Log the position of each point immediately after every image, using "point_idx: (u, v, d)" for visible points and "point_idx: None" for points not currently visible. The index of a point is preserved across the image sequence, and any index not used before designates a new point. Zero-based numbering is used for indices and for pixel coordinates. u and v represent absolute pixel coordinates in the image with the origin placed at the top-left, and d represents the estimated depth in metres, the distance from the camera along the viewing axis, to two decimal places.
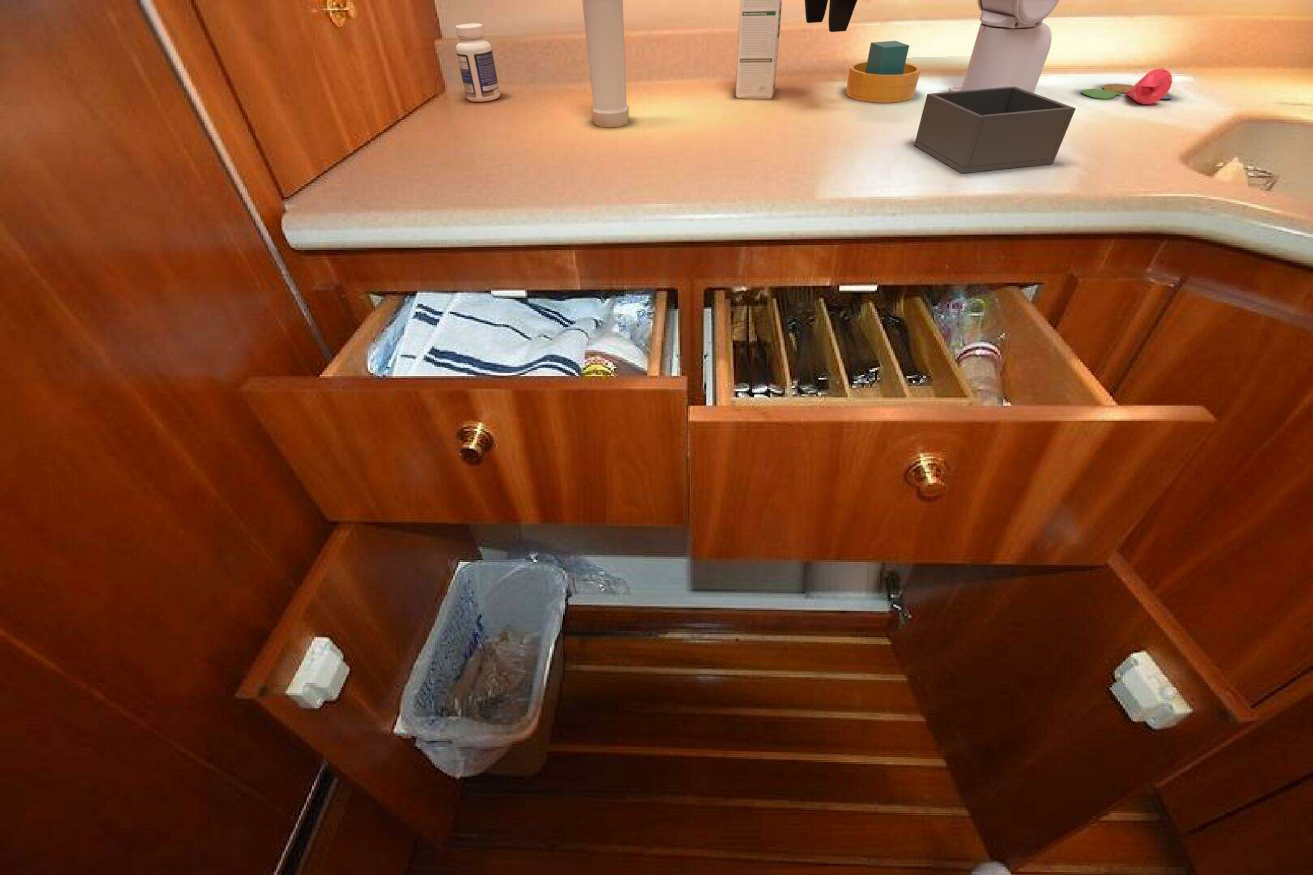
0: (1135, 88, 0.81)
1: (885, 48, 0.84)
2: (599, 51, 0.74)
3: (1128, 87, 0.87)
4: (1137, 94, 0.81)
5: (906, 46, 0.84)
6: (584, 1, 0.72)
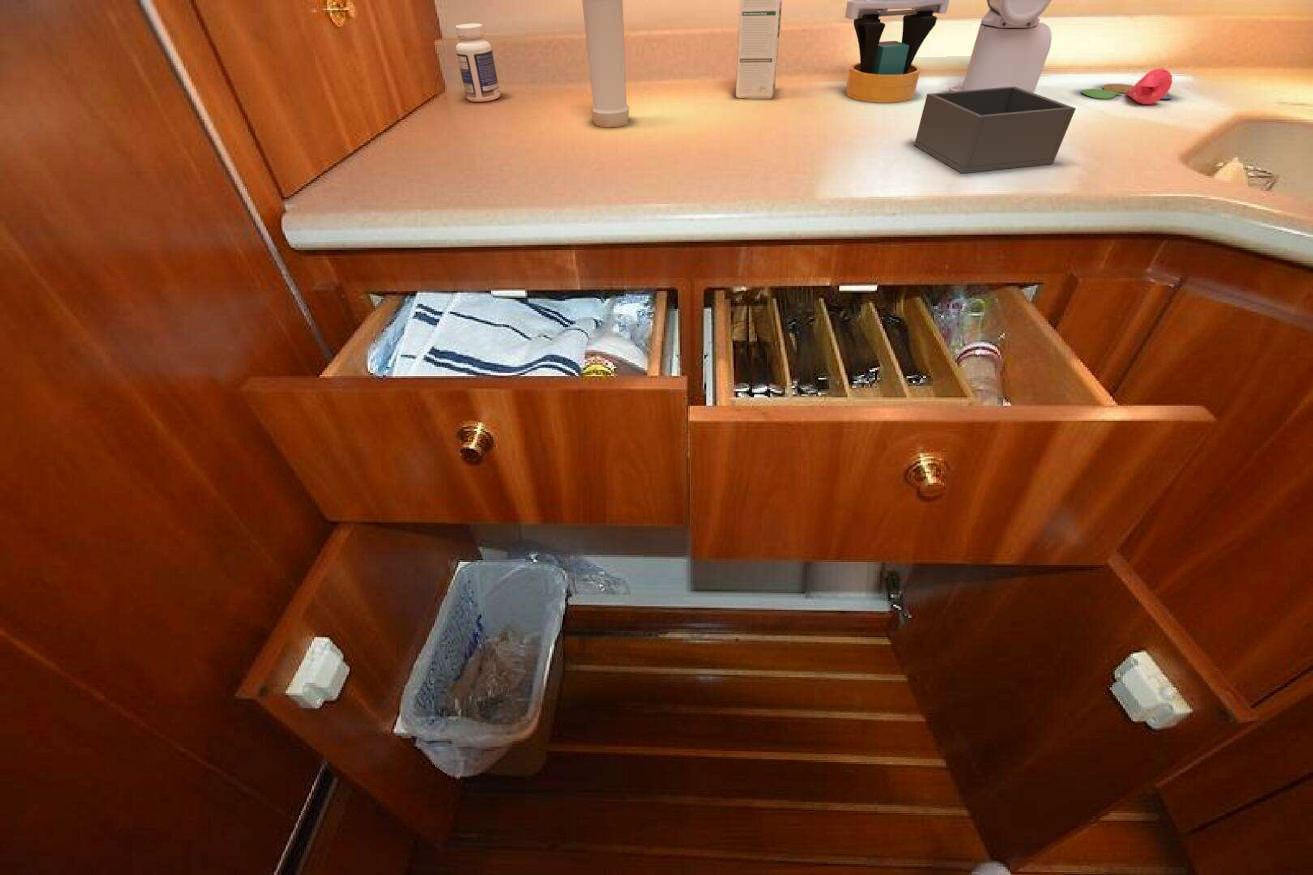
0: (1135, 88, 0.81)
1: (885, 48, 0.84)
2: (599, 51, 0.74)
3: (1128, 87, 0.87)
4: (1137, 94, 0.81)
5: (906, 46, 0.84)
6: (584, 1, 0.72)
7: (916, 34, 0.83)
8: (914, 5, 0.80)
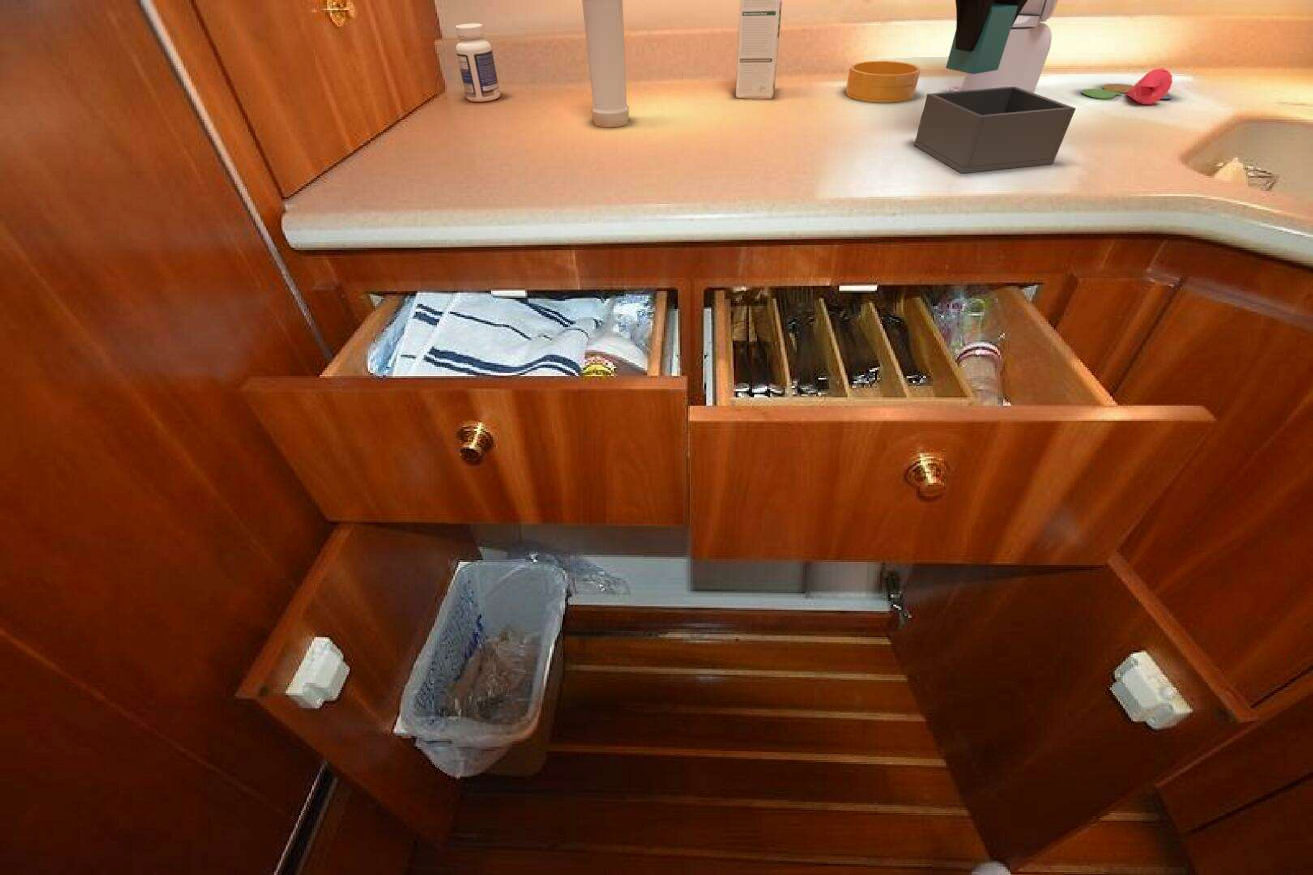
0: (1135, 88, 0.81)
1: (994, 10, 0.62)
2: (599, 51, 0.74)
3: (1128, 87, 0.87)
4: (1137, 94, 0.81)
5: (1015, 7, 0.63)
6: (584, 1, 0.72)
7: None
8: None
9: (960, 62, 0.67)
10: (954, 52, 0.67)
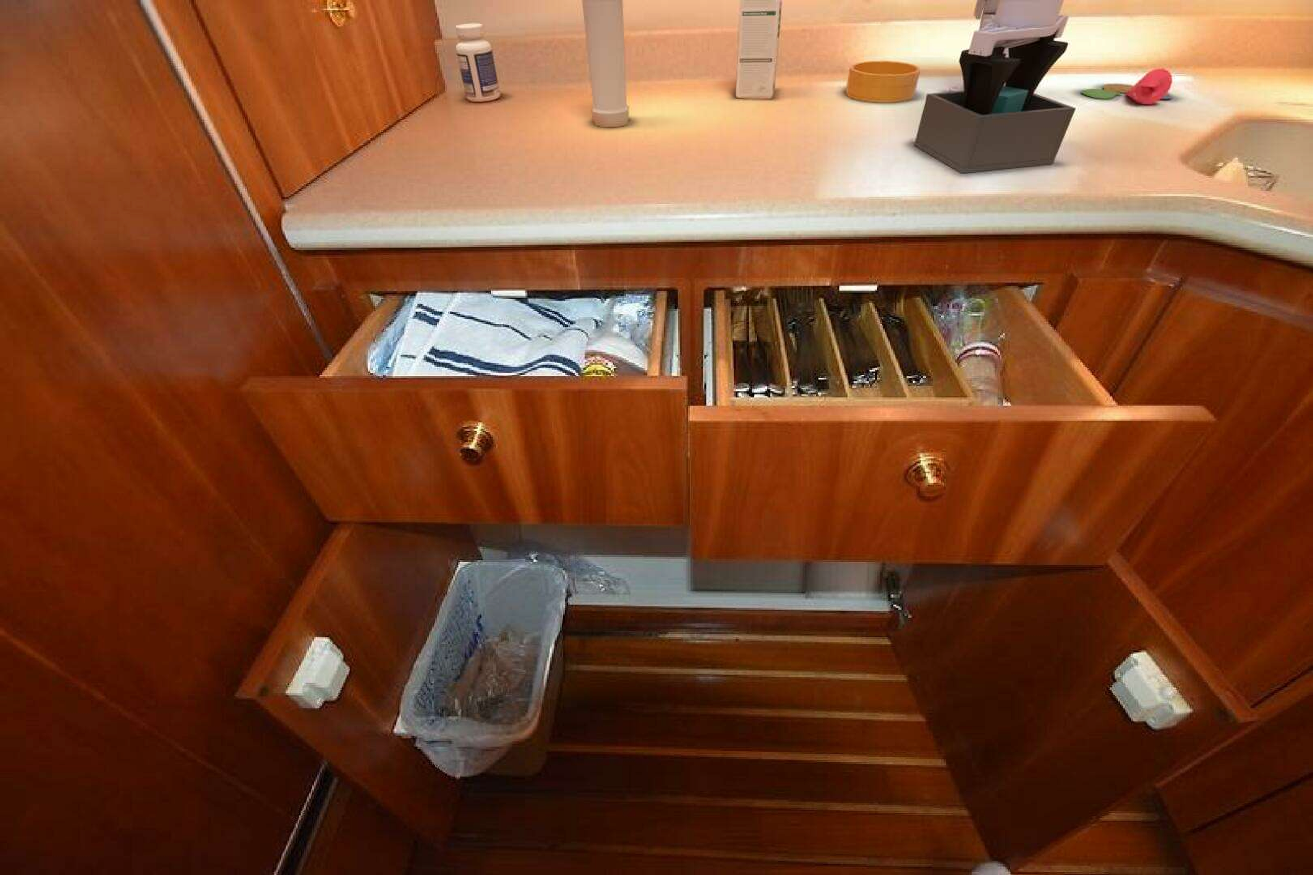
0: (1135, 88, 0.81)
1: (1009, 97, 0.62)
2: (599, 51, 0.74)
3: (1128, 87, 0.87)
4: (1137, 94, 0.81)
5: (1026, 92, 0.63)
6: (584, 1, 0.72)
7: (1043, 66, 0.63)
8: (1054, 31, 0.59)
9: None
10: None
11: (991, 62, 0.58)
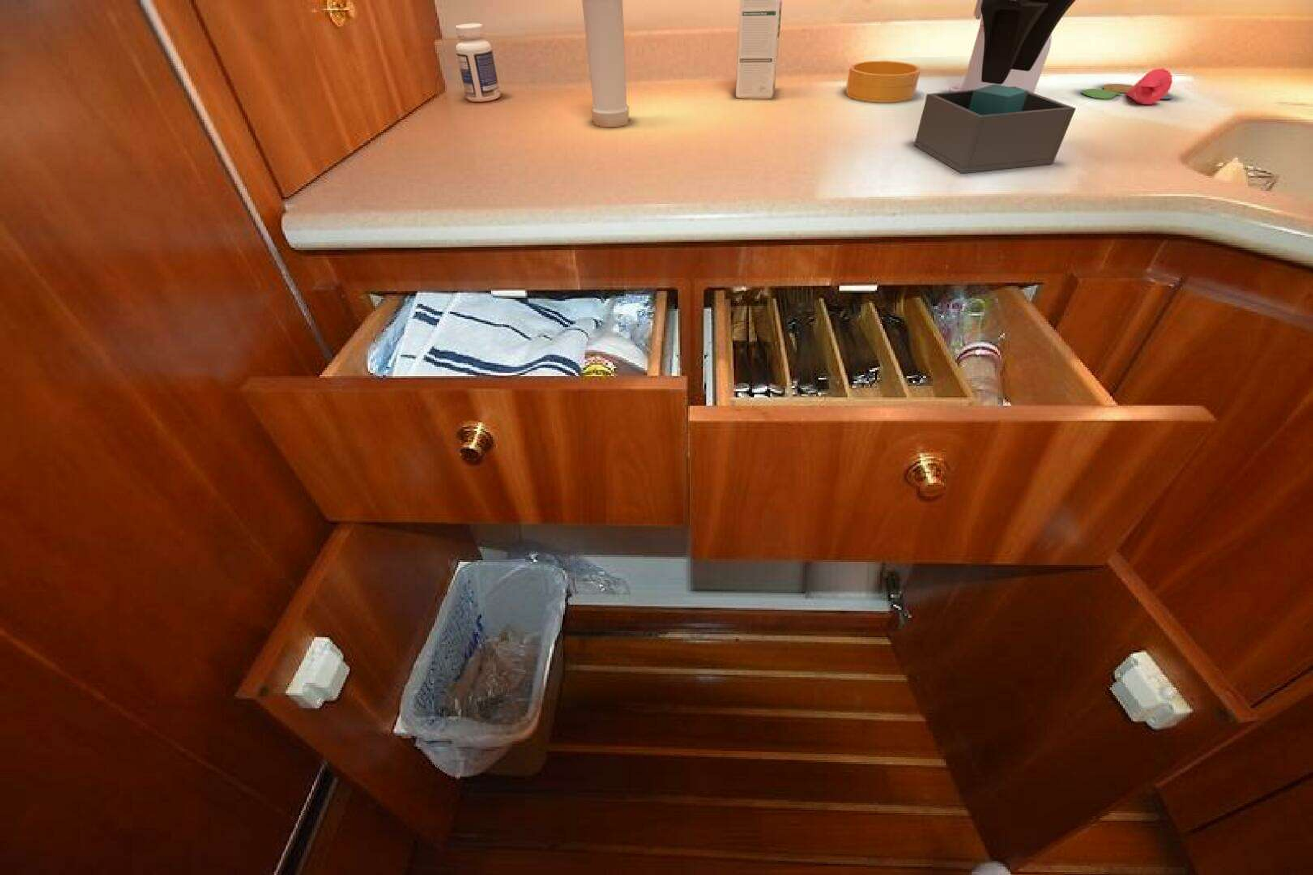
0: (1135, 88, 0.81)
1: (1009, 97, 0.62)
2: (599, 51, 0.74)
3: (1128, 87, 0.87)
4: (1137, 94, 0.81)
5: (1026, 92, 0.63)
6: (584, 1, 0.72)
7: (1057, 14, 0.60)
8: None
9: None
10: None
11: (1019, 7, 0.55)
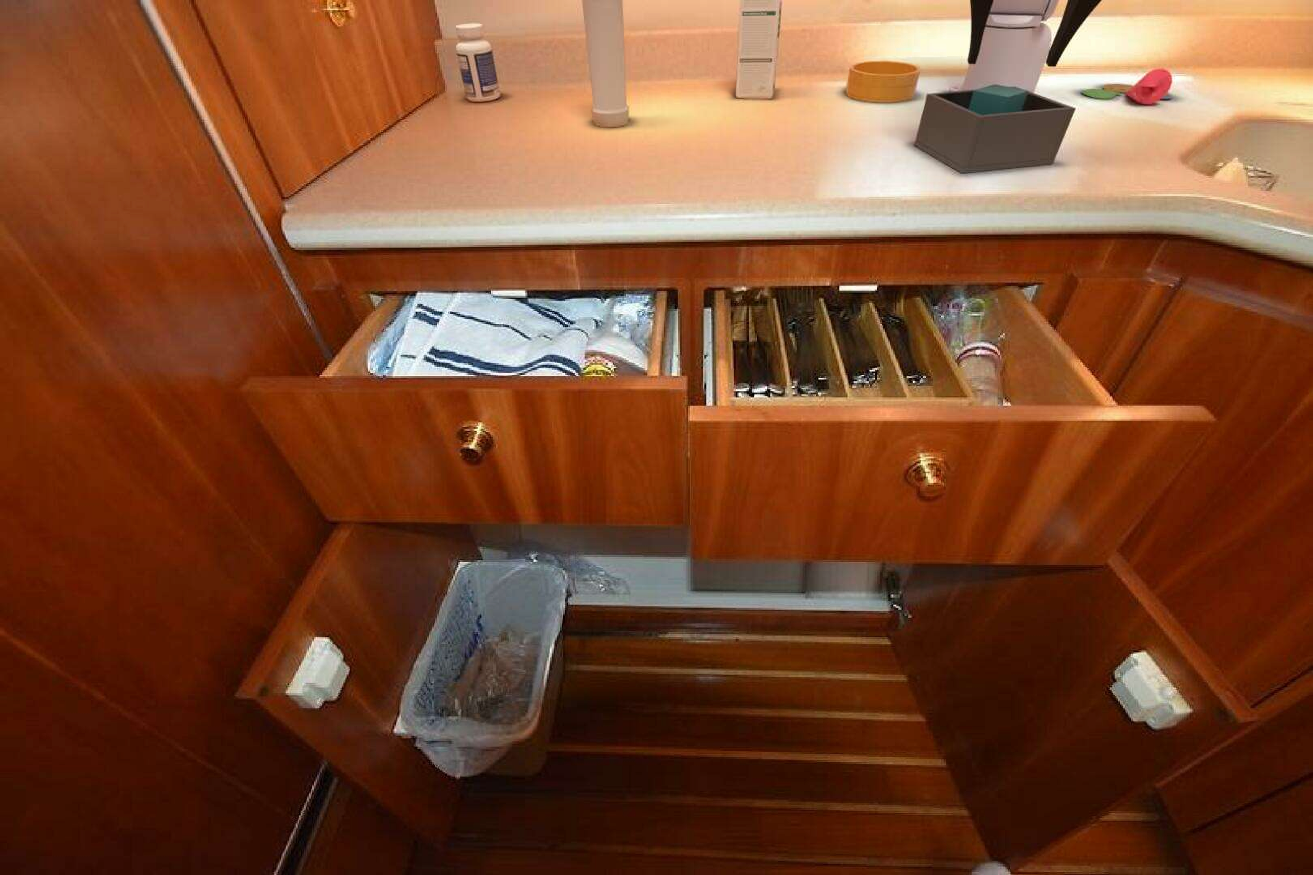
0: (1135, 88, 0.81)
1: (1009, 97, 0.62)
2: (599, 51, 0.74)
3: (1128, 87, 0.87)
4: (1137, 94, 0.81)
5: (1026, 92, 0.63)
6: (584, 1, 0.72)
7: None
8: None
9: None
10: None
11: None
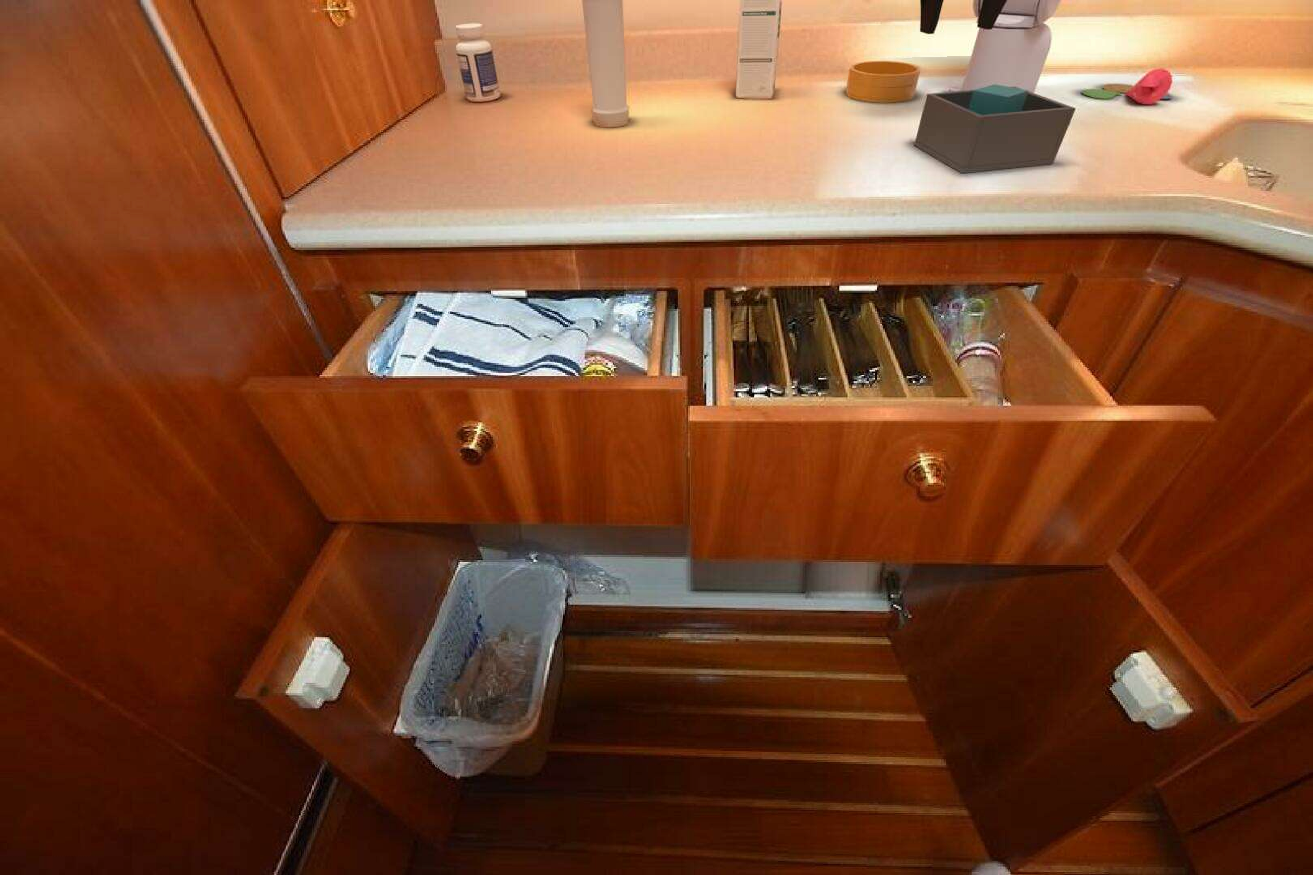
0: (1135, 88, 0.81)
1: (1009, 97, 0.62)
2: (599, 51, 0.74)
3: (1128, 87, 0.87)
4: (1137, 94, 0.81)
5: (1026, 92, 0.63)
6: (584, 1, 0.72)
7: None
8: None
9: None
10: None
11: None
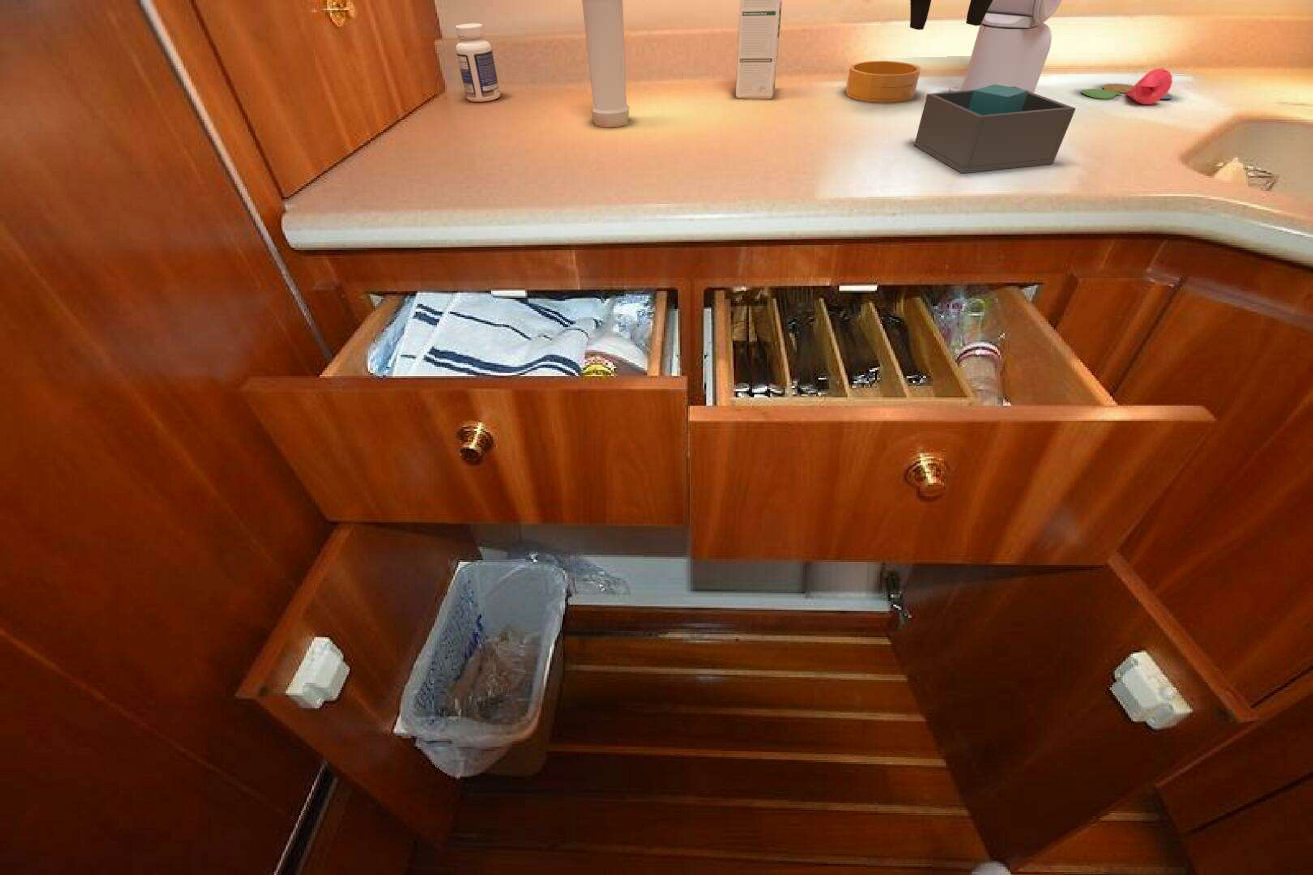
0: (1135, 88, 0.81)
1: (1009, 97, 0.62)
2: (599, 51, 0.74)
3: (1128, 87, 0.87)
4: (1137, 94, 0.81)
5: (1026, 92, 0.63)
6: (584, 1, 0.72)
7: None
8: None
9: None
10: None
11: None
